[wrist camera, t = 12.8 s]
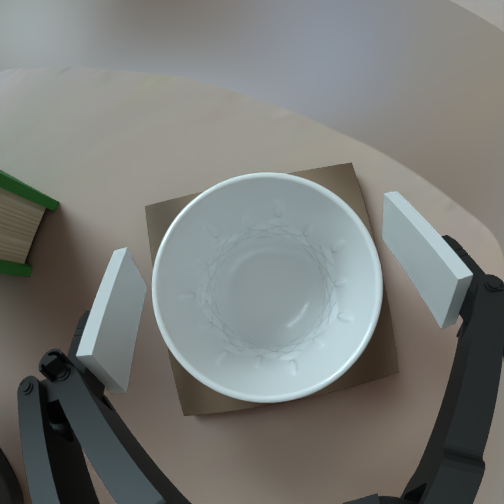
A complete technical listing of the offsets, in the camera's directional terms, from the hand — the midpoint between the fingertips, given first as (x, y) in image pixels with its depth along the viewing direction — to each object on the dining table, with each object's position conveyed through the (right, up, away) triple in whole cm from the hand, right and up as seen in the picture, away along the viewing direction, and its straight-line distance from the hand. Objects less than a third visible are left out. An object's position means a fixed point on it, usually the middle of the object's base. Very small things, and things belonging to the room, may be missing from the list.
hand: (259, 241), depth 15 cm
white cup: (+1, -3, +5) cm, 6 cm away
